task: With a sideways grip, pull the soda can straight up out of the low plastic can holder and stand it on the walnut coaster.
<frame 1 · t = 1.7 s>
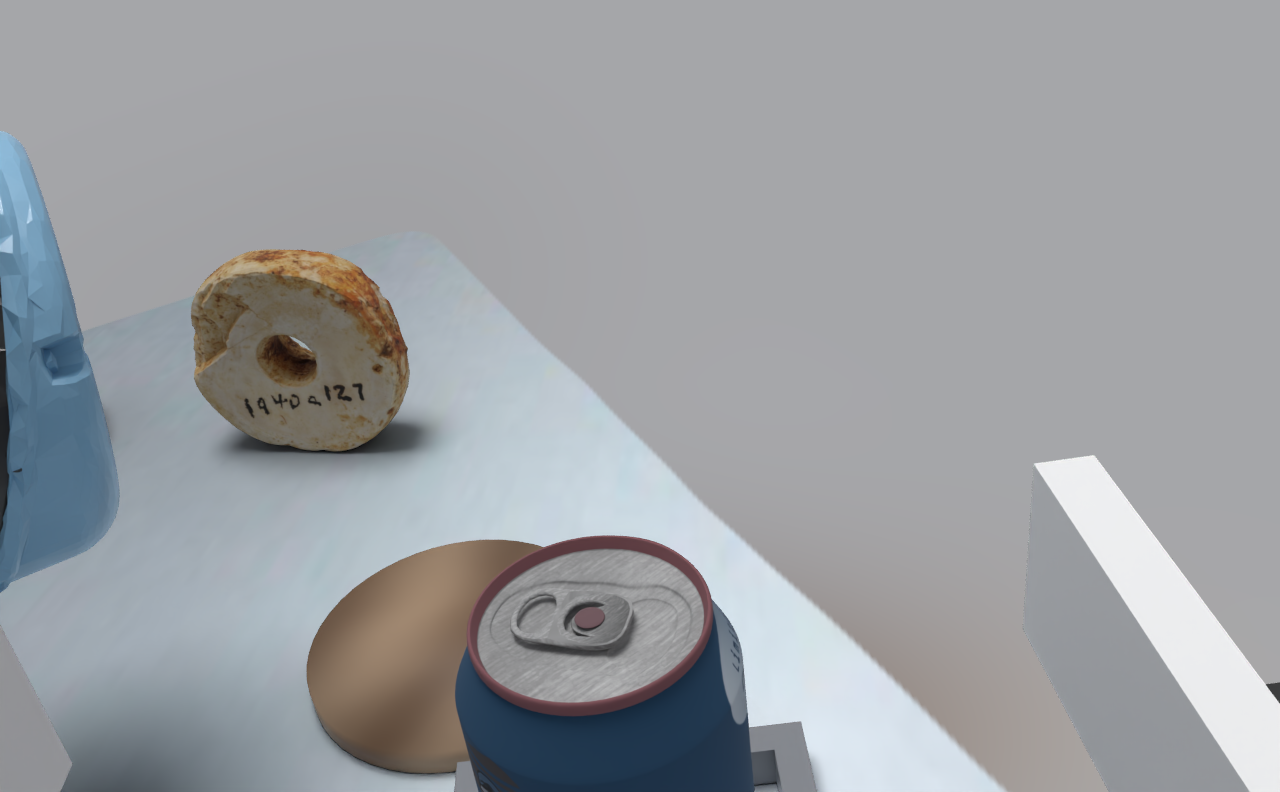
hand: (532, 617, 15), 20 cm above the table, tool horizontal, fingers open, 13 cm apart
stone disc: (328, 439, 58), on the table
coaster: (462, 654, 44), on the table
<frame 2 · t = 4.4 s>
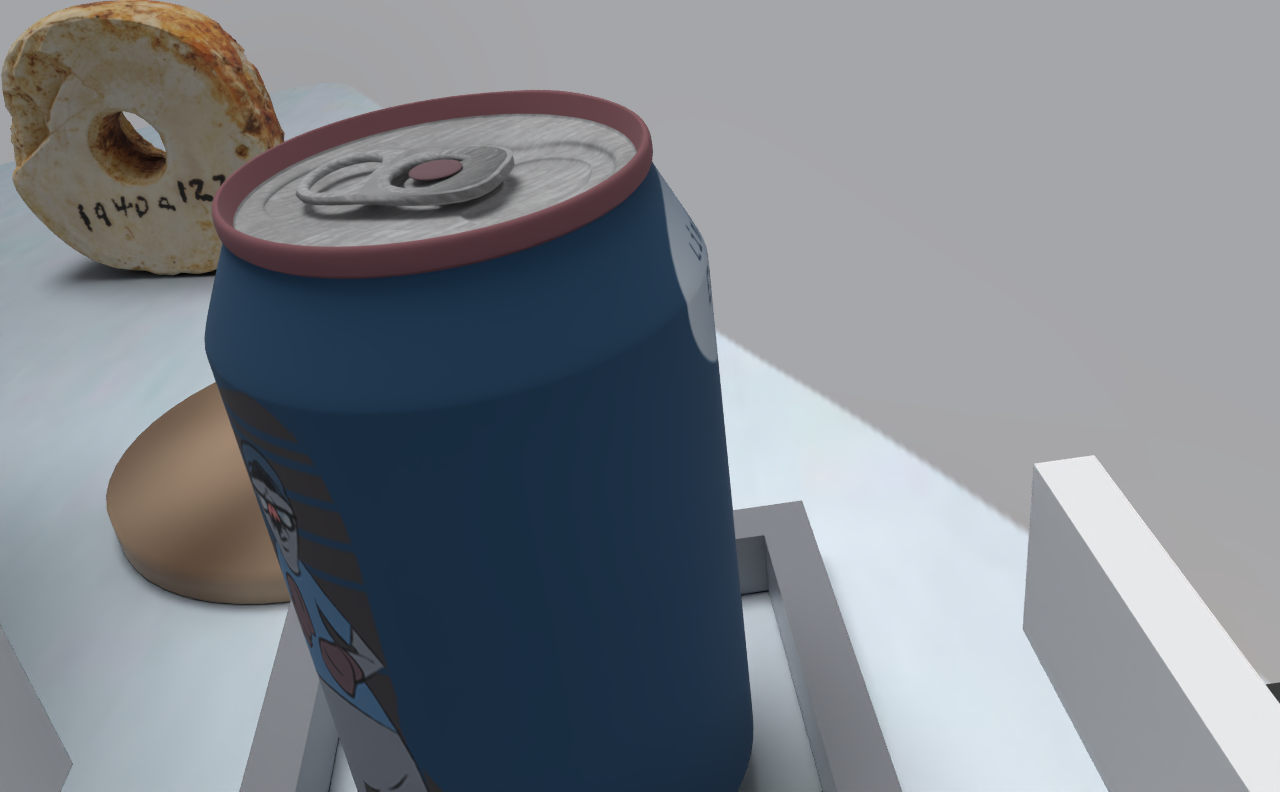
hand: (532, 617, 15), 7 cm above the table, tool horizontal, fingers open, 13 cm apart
stone disc: (192, 265, 46), on the table
coaster: (331, 467, 32), on the table
can holder: (567, 784, 21), on the table
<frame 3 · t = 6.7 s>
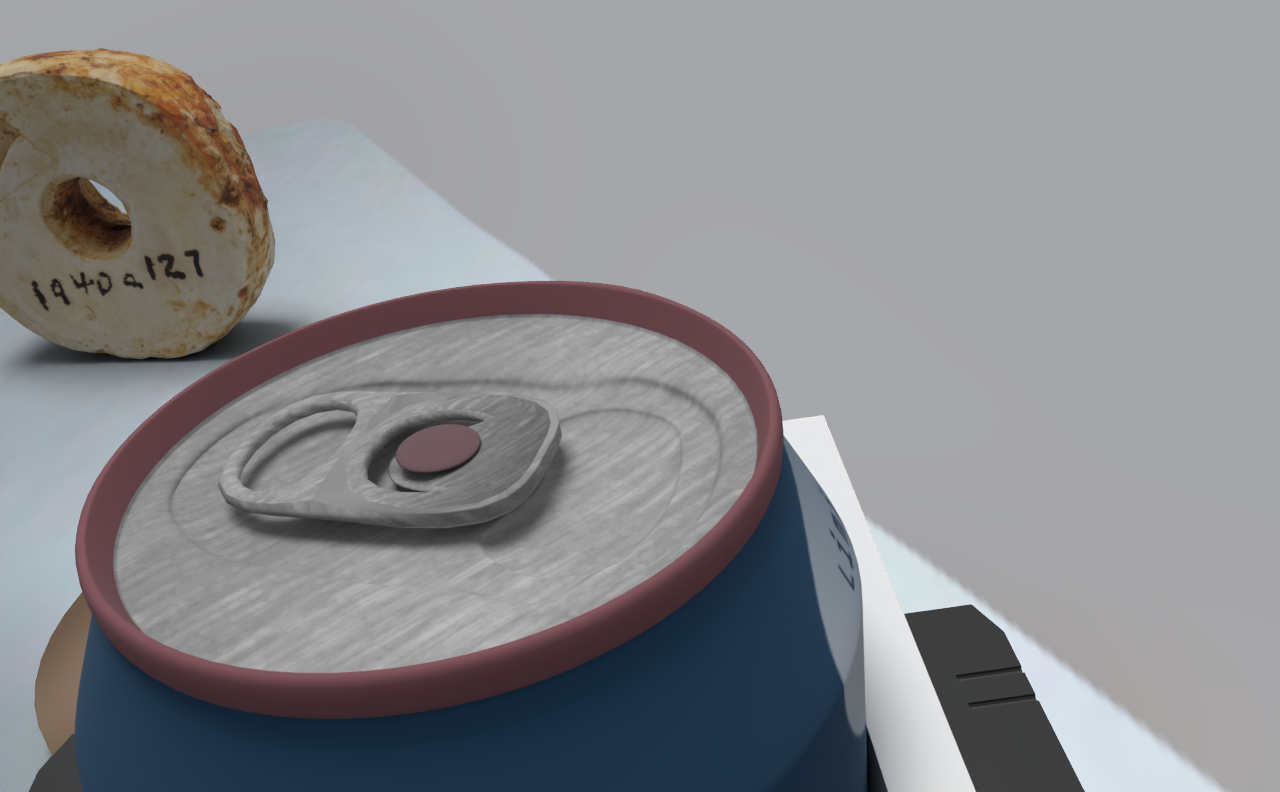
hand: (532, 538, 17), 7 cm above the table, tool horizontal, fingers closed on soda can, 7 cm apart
stone disc: (165, 346, 41), on the table
coaster: (313, 635, 26), on the table
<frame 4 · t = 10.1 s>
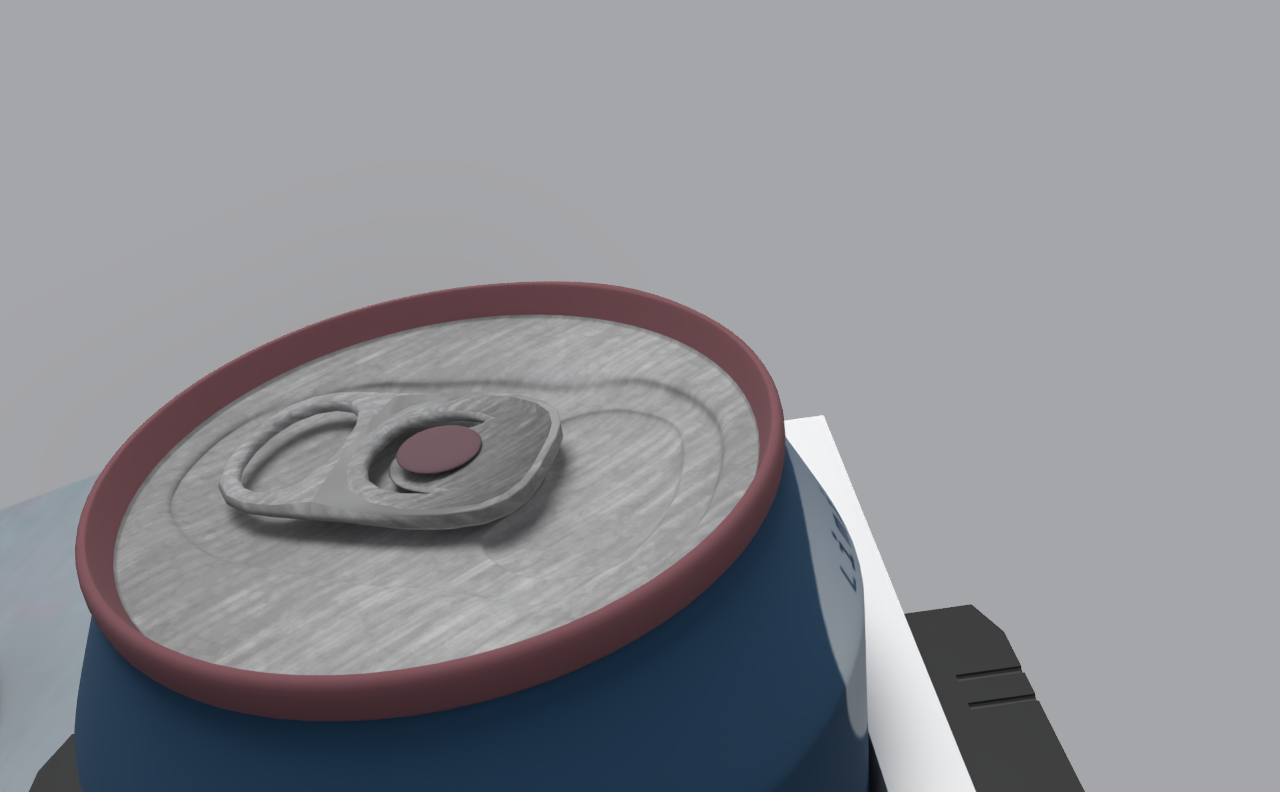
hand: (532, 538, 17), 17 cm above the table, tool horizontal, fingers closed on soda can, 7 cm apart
when the fingers open (9 cm above the table, at t = 13.3 s): soda can stays where it is, resting on coaster.
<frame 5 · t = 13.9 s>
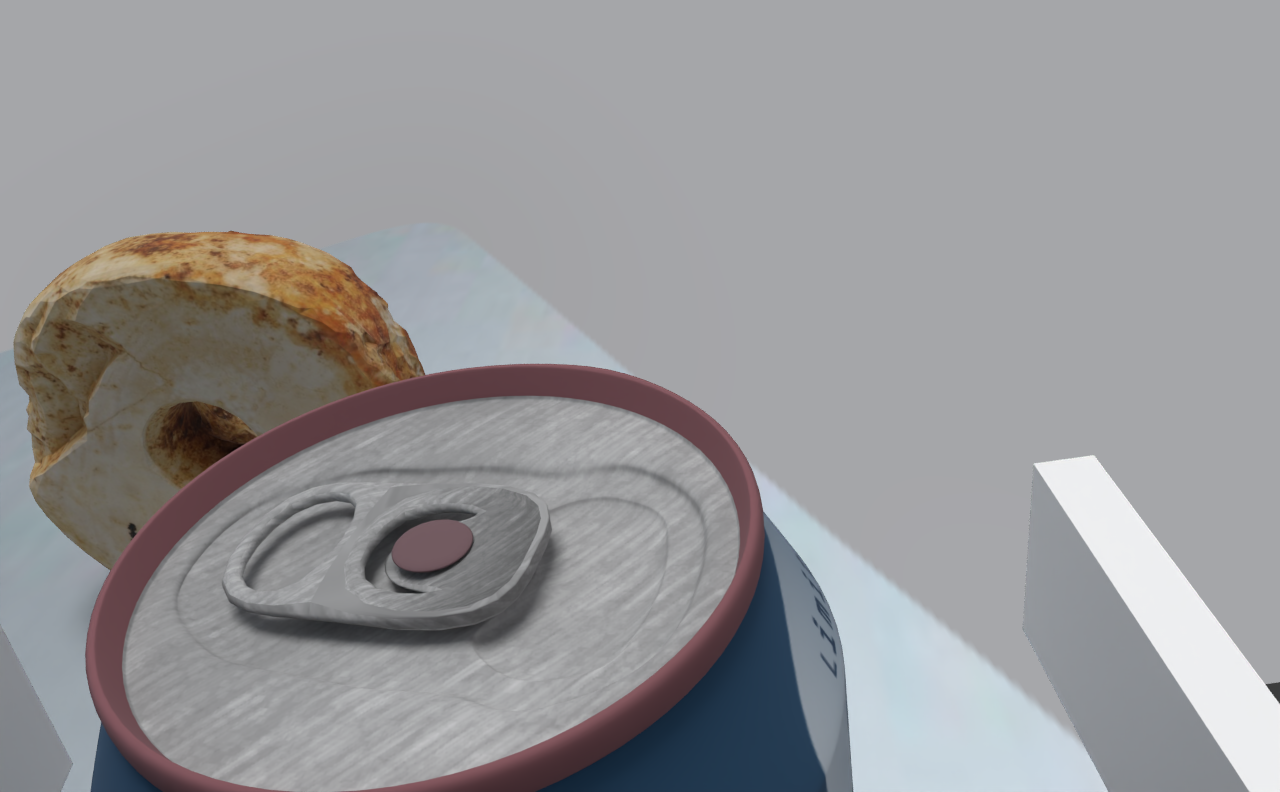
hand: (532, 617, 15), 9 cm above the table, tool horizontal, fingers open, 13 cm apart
stone disc: (293, 588, 31), on the table
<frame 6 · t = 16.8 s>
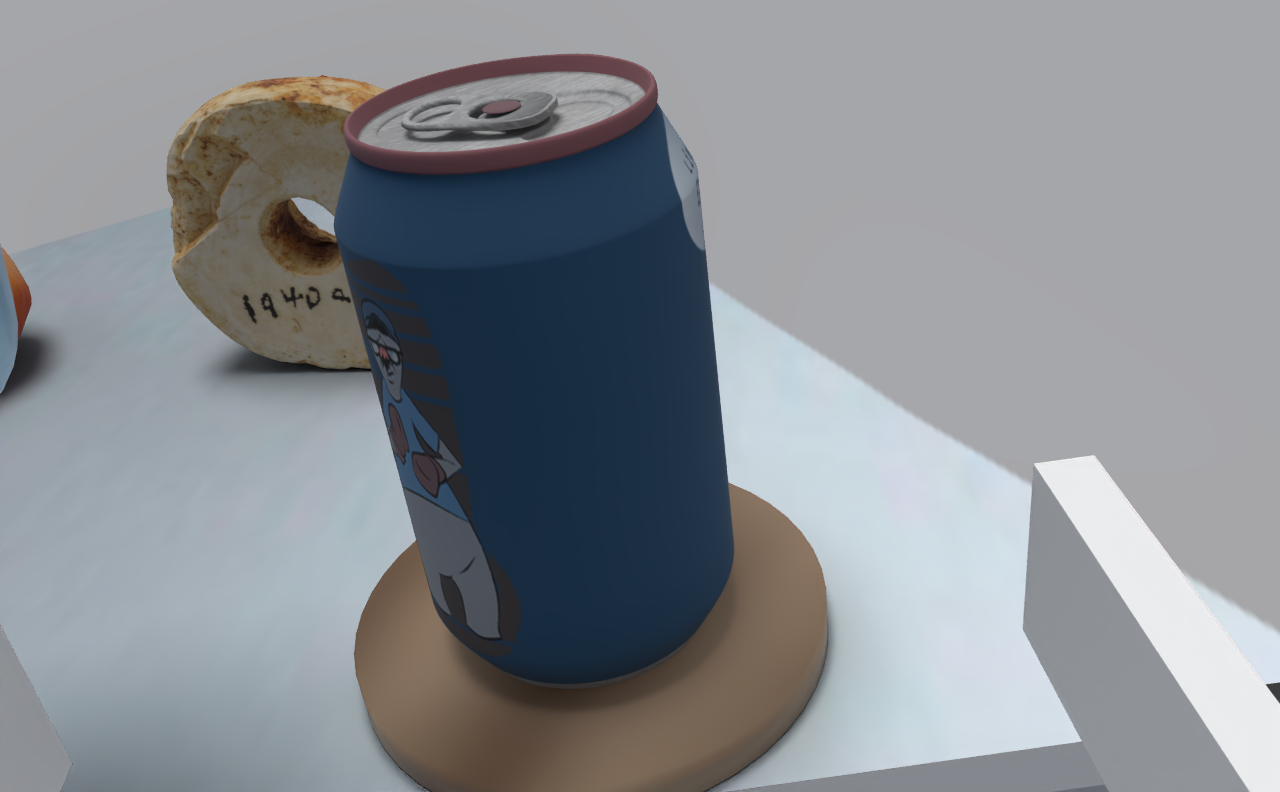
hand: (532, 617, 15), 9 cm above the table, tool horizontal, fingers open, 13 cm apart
soda can: (591, 609, 28), point 1 cm above the table, touching coaster
stone disc: (358, 356, 42), on the table
coaster: (594, 632, 28), on the table
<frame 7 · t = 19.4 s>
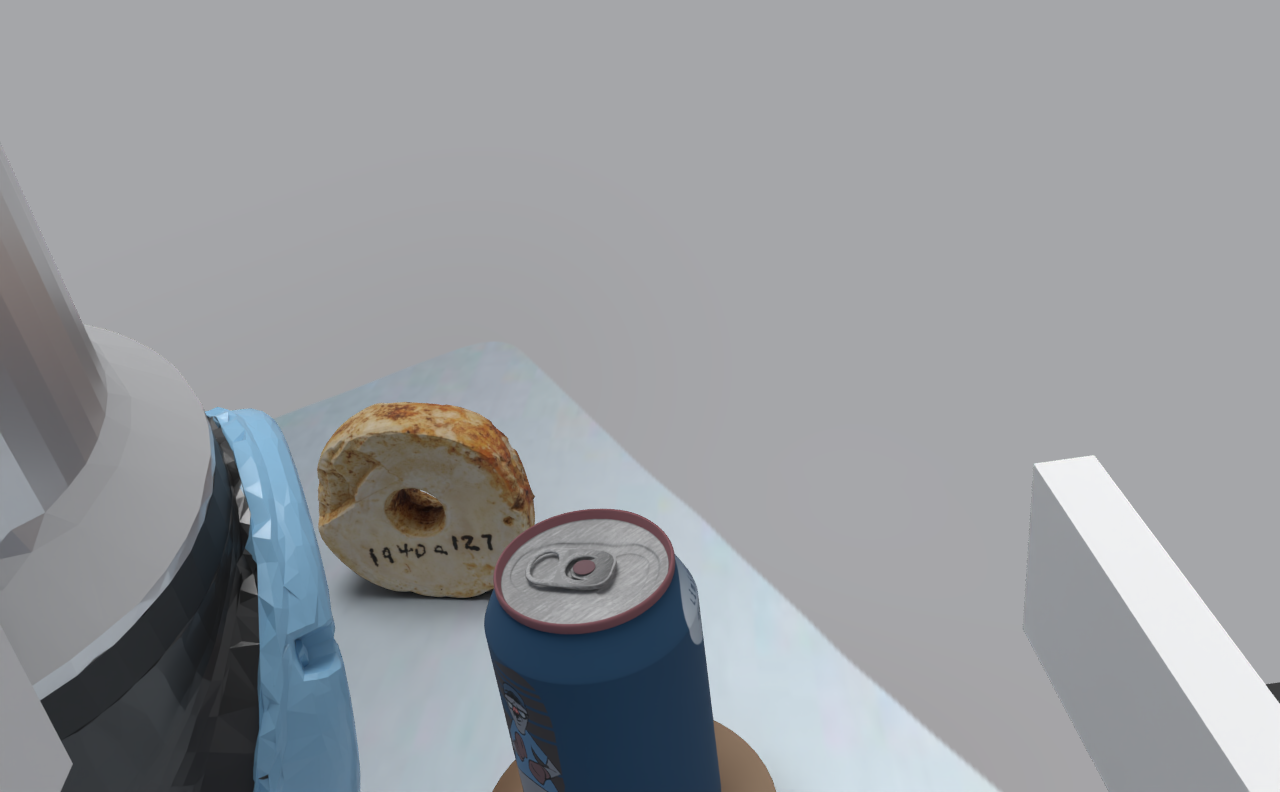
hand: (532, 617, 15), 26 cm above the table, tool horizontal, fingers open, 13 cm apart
stone disc: (448, 582, 58), on the table
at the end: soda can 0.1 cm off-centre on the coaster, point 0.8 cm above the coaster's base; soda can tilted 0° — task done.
